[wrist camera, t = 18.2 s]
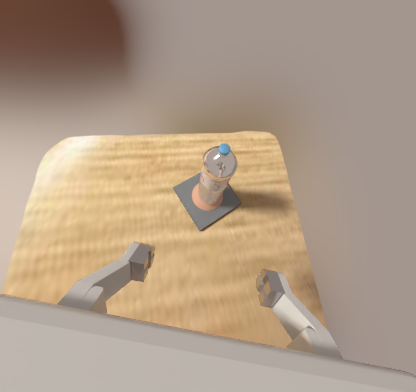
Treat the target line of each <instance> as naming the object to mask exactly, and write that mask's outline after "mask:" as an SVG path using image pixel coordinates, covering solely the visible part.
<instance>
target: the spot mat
mask: <svg viewBox="0 0 416 392" xmlns="http://www.w3.org/2000/svg"><path fill="white" fill-rule="evenodd" d="M200 175H201V173H199V174H197V175H195V176H193V177H192V178H190V179H188V180H186V181H184V182H182V183H181V184H179V185H177V186H175V187H173V189H174V191H175V192H176V194H177V196H178V197H179V199H180V200H181V202H182V203H183V205H184V207H185V208H186V210H187V211H188V213H189V215H190V216H191V218H192V219H193V221H194V223H195V224H196V226H197V227H198V229H199V231H200V230H202V229H204V228H205V227H207V226H208V225H210V224H211V223H213V222H214V221H216V220H217V219H219V218H220V217H222V216H223V215H225V214H226V213H228V212H229V211H231V210H232V209H234V208H235V207H237V206H238V205H240V204H241V202H240V200H239V199H238V198H237V196H236V195H235V194H234V192H233V191H232V189H231V188H230V187H229V185H228V184H227V186H226V188H225V190H224V191H223V193H222V195H221V196H220V198H219V200H218V201H217V202H216V203H214V204H212V205H206V204H204V203H202V202H201V201H200V199H199V196H198V190H199V182H200Z"/></svg>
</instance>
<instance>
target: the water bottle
mask: <svg viewBox="0 0 416 392" xmlns="http://www.w3.org/2000/svg"><path fill="white" fill-rule="evenodd" d="M237 165H238V162H237V158H236V156H235V154H234V153H233V152H232V151H231V150H230V146H229V145H227V144H221V145H220V146H215V147H212V148H210V149H209V150H207V151H206V152H205V154H204V156H203V158H202V171H201V175H200V182H199V190H198V196H199V199H200V201H201V202H202V203H204V204H206V205H212V204H214V203H216V202H217V201H218V200H219V198H220V196H221V195H222V193H223V191H224V190H225V188H226V186H227V184H228V182H229V180H230V179H231V177H232V176H233V175H234V173H235V172H236V169H237Z"/></svg>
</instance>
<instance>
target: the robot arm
mask: <svg viewBox="0 0 416 392" xmlns="http://www.w3.org/2000/svg"><path fill="white" fill-rule="evenodd" d="M154 250H155V246H151V245H147V244H143V243H138V242H133V243H132V244H131V245H130V247H129V248H128V250H127V251H126V252H125V254H124V255H123V256H122V258H121V259H120V260H116V261H114V262H112V263H110V264H109V265H107V266H105V267H103V268H101V269H99V270H98V271H96V272H94V273H92V274H90V275H88V276H87V277H85V278H83V279H81V280H79V281H78V282H77V283H76V284H75V285H74V286H73V287H72V288H71V289H70V290H69V292H68V293H67V294H66V295H65V296H64V297H63V298H62V299H61V301H60V302H59V303H58V304H52V303H47V302H42V301H37V300H32V299H26V298H21V297H16V296H11V295H6V294H1V293H0V392H416V376H414V375H413V374H410V373H408V372H405V371H401V370H395V369H390V368H385V367H380V366H374V365H370V364H364V363H359V362H354V361H349V360H344V359H343V358H342V356H341V354H340V352H339V350H338V348H337V346H336V344H335V342H334V340H333V339H332V337H331V335H330V333H329V331H328V330H327V329H326V328H325V327H324V326H323V325H322V324H321V323H320V322H319V321H318V320H317V319H316V317H315V316H314V315H313V314H312V313H311V312H310V311H309V310H308V309H307V308H306V307H305V306H304V305H303V304H302V303H301V302H300V301H299V299H298V298H297V297H296V296H293V294H292V292H291V289H290V287H289V285H288V282H287V280H286V278H285V275H284V274H283V273H281V272H275V271H271V270H266V269H262V270H261V271H260V273H261V274H260V275H258V277H257V279H256V288H257V290H258V291H259V295H258V297H259V301H260V305H261V306H265V307H269V308H272V310H273V311H274V313H275V314H276V316H277V317H278V319H279V320H280V322H281V323H282V325H283V326H284V328H285V329H286V331H287V333H288V334H289V336H290V337H291V339H292V341H291V342H290V343H289V344H288V345H287V349H286V348H281V347H276V346H271V345H265V344H260V343H255V342H250V341H245V340H240V339H234V338H229V337H224V336H219V335H214V334H208V333H203V332H198V331H193V330H188V329H182V328H177V327H172V326H167V325H162V324H156V323H151V322H146V321H141V320H136V319H130V318H125V317H120V316H115V315H110V314H106V313H107V308H106V302H105V301H106V300H108V299H109V298H110V297H111V296H112V295H114V294H115V293H116V292H117V291H119V290H120V289H121V288H122V287H124V286H125V285H126V284H127V283H129V282H130V281H131V280H135V281H141V282H144V280H145V278H146V276H147V274H148V269H149V268H150V267H151V265H152V263H153V260H154V253H153V252H154Z"/></svg>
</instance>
